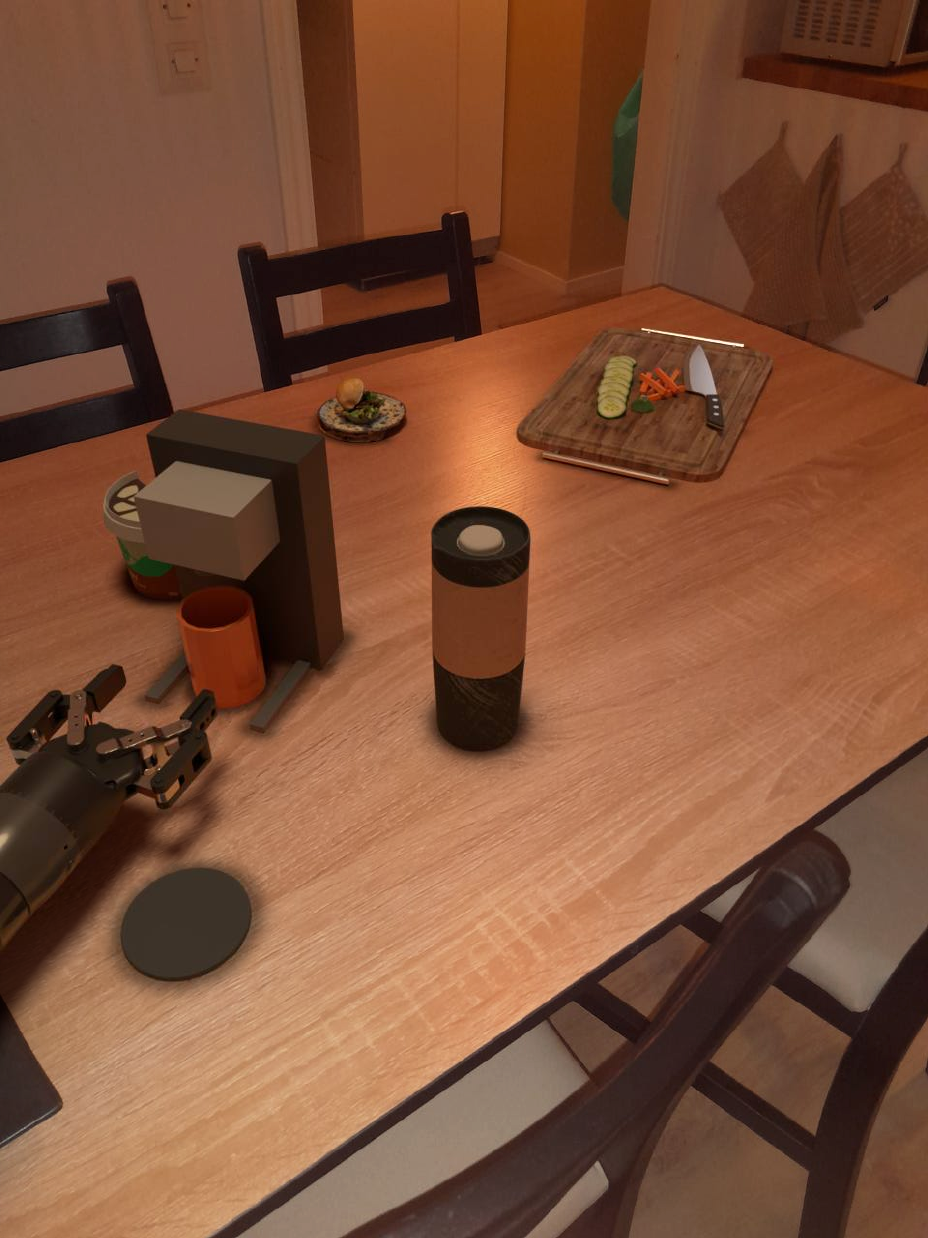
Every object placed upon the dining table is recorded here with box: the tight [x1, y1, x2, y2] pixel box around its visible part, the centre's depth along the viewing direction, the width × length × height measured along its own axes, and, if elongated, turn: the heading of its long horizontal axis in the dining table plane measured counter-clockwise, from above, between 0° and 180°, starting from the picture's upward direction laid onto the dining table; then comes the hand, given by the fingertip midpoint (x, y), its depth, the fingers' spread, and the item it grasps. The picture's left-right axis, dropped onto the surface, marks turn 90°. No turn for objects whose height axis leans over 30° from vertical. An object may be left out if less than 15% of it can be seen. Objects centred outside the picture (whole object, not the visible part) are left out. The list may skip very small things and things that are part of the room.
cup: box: [176, 585, 267, 709], centre depth 86 cm, size 6×6×9 cm
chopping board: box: [516, 327, 774, 486], centre depth 134 cm, size 45×27×3 cm, turn 156°
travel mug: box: [430, 505, 532, 752], centre depth 79 cm, size 8×8×20 cm
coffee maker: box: [134, 408, 345, 734], centre depth 83 cm, size 14×14×22 cm
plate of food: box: [316, 371, 407, 443], centre depth 127 cm, size 12×12×8 cm
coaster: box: [119, 867, 252, 982], centre depth 69 cm, size 9×9×1 cm
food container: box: [102, 469, 183, 601], centre depth 97 cm, size 12×6×10 cm, turn 42°
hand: (165, 684), depth 78 cm, fingers open, 8 cm apart
